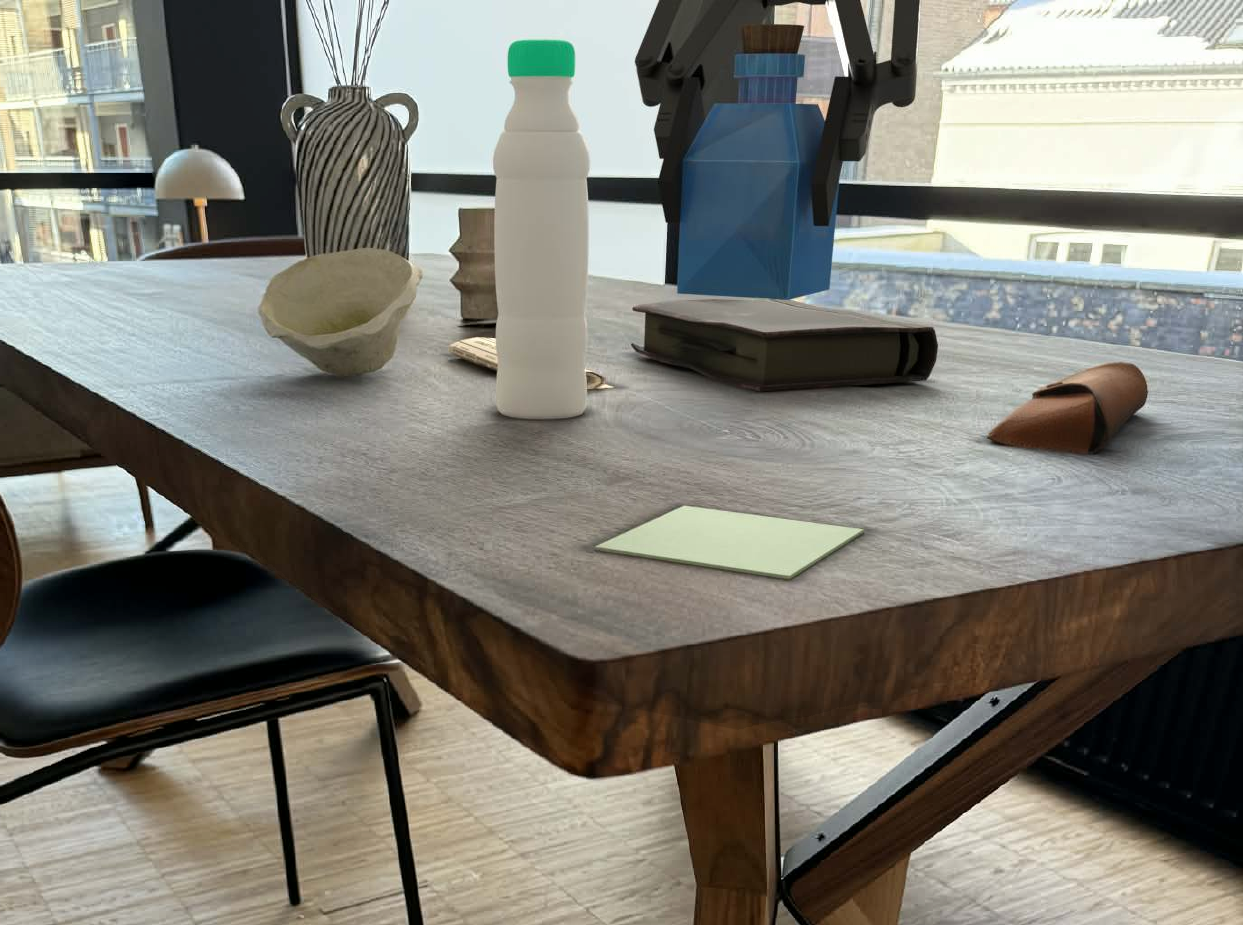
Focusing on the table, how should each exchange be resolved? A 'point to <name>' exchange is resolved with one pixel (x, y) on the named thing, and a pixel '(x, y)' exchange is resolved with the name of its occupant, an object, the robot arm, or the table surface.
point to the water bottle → (541, 239)
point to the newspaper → (486, 356)
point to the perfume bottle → (756, 183)
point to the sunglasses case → (1076, 410)
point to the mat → (733, 541)
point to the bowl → (341, 308)
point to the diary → (785, 344)
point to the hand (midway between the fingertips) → (743, 203)
